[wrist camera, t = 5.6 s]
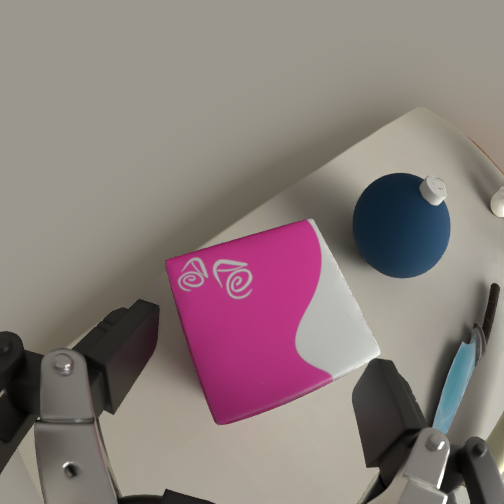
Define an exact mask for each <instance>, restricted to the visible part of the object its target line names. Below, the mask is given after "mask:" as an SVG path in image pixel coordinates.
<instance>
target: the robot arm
mask: <svg viewBox="0 0 504 504" xmlns="http://www.w3.org/2000/svg"><path fill="white" fill-rule="evenodd" d="M159 314H160V307H159V305H156V304H153V303H151V302H148V301H145V300H142V299H138V300H137V301H136V302H135V303H134V304H133V305H132V306H131V307H130V308H129V309H127V308H124V307H122V308H120V309H117V310H114V311H112V312H111V313H109V314H108V315H107V316H106V317H105V318H104V319H103V321H101V322H100V323H99V324H98V325H97V327H94V328H93V329H92V330H91V331H90V332H89V333H88V334H87V335H86V336H85V337H84V338H83V339H82V340H81V341H80V342H79V343H78V344H76V345H75V346H74V347H73V348H72V349H67V348H60V349H55V350H52V351H50V352H49V353H47V354H46V355H45V356H44V355H41V354H37V353H34V352H31V351H27V350H24V347H23V343H22V340H21V339H20V337H19V336H18V335H17V334H15V333H12V332H8V331H4V332H0V392H1V391H2V390H3V391H4V394H3V395H2V396H1V397H0V474H1V472H2V471H3V469H4V467H5V466H6V464H7V463H8V461H9V460H10V458H11V456H12V455H13V453H14V452H15V450H16V449H17V447H18V446H19V444H20V443H21V441H22V440H23V438H24V437H25V435H26V434H27V432H28V431H29V429H30V428H31V427H32V425H33V424H34V422H35V424H34V436H35V448H36V457H37V465H38V472H39V478H40V484H41V489H42V494H43V499H44V503H45V504H215V503H212V502H210V501H207V500H203V499H199V498H195V497H192V496H188V495H184V494H181V493H178V492H174V491H171V490H168V489H165V492H164V495H163V496H158V495H131V496H124V497H122V494H121V492H120V489H119V486H118V484H117V481H116V478H115V476H114V473H113V470H112V467H111V464H110V461H109V458H108V454H107V451H106V447H105V443H104V439H103V435H102V431H101V427H100V423H99V416H100V415H101V413H102V412H103V410H105V411H107V412H109V413H111V414H113V415H114V414H115V412H116V411H117V409H118V407H119V406H120V404H121V403H122V401H123V400H124V398H125V396H126V395H127V393H128V392H129V390H130V389H131V387H132V386H133V384H134V382H135V381H136V379H137V378H138V376H139V375H140V373H141V372H142V370H143V369H144V367H145V366H146V364H147V362H148V361H149V359H150V358H151V356H152V355H153V353H154V351H155V348H156V345H157V339H158V326H159ZM352 403H353V407H354V412H355V416H356V420H357V425H358V429H359V434H360V438H361V443H362V448H363V452H364V457H365V463H366V468H371V467H379V470H380V471H379V472H378V473H377V474H376V475H375V476H374V478H373V479H372V481H371V483H370V484H369V486H368V487H367V489H366V491H365V492H364V494H363V495H362V497H361V498H360V500H359V501H358V502H357V504H457V503H456V499H455V495H454V491H453V490H455V489H456V488H457V487H459V486H460V485H461V484H462V483H464V482H465V485H466V489H467V492H468V495H469V499H470V504H504V482H503V479H502V477H501V474H500V472H499V469H498V467H497V464H496V462H495V459H494V457H493V455H492V452H491V450H490V448H489V446H488V444H487V443H486V442H485V441H484V440H483V439H481V438H479V437H471V438H469V439H468V440H467V441H466V442H465V443H464V444H463V445H462V446H459V445H453V444H450V443H449V440H448V438H447V437H446V435H445V434H444V433H443V432H441V431H440V430H438V429H436V428H431V427H428V425H427V423H426V421H425V418H424V416H423V414H422V412H421V409H420V407H419V405H418V403H417V402H416V399H415V396H414V394H412V390H411V388H410V386H409V384H408V382H407V381H406V380H405V379H404V378H403V377H402V376H401V375H400V374H399V373H398V371H397V369H396V367H395V365H394V363H393V361H391V360H385V359H378V358H374V359H372V360H371V361H370V362H369V364H368V366H367V367H366V369H365V371H364V373H363V374H362V376H361V378H360V379H359V381H358V382H357V384H356V386H355V388H354V390H353V394H352ZM38 417H41V418H40V420H37V418H38Z"/></svg>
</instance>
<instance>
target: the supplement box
mask: <svg viewBox="0 0 504 504" xmlns="http://www.w3.org/2000/svg"><path fill="white" fill-rule="evenodd" d="M165 266H166V271H167V274H168V278H169V282H170V286H171V290H172V293H173V297H174V301H175V304H176V308H177V312H178V315H179V319H180V322H181V326H182V329H183V333H184V336H185V339H186V343H187V346H188V349H189V352H190V355H191V358H192V361H193V364H194V367H195V370H196V373H197V376H198V379H199V382H200V385H201V388H202V390H203V393H204V396H205V398H206V401H207V404H208V406H209V409H210V412H211V414H212V417H213V419H214V422H215V423H216V424H217V425H225V424H230V423H233V422H237V421H240V420H243V419H246V418H249V417H252V416H255V415H258V414H261V413H263V412H266V411H269V410H271V409H274V408H276V407H279V406H281V405H284V404H286V403H289V402H291V401H293V400H295V399H298V398H300V397H302V396H304V395H306V394H309V393H311V392H313V391H315V390H317V389H319V388H321V387H323V386H325V385H327V384H329V383H331V382H333V381H334V380H337V379H339V378H340V377H342V376H344V375H346V374H348V373H350V372H352V371H353V370H355V369H357V368H358V367H360V366H362V365H364V364H366V363H367V362H369V361H370V360H372V359H374V358H375V357H377V356H378V355H379V354H380V349H379V347H378V345H377V343H376V341H375V339H374V337H373V335H372V333H371V330H370V328H369V326H368V324H367V322H366V320H365V318H364V316H363V314H362V312H361V310H360V308H359V306H358V304H357V302H356V300H355V299H354V297H353V295H352V293H351V291H350V289H349V287H348V285H347V283H346V281H345V279H344V277H343V275H342V273H341V271H340V269H339V267H338V265H337V263H336V261H335V259H334V257H333V255H332V253H331V251H330V250H329V248H328V246H327V244H326V242H325V240H324V239H323V237H322V235H321V233H320V231H319V230H318V228H317V226H316V224H315V222H314V221H313V219H311V218H309V219H305V220H302V221H298V222H294V223H291V224H287V225H284V226H280V227H277V228H273V229H270V230H266V231H263V232H259V233H256V234H252V235H249V236H245V237H242V238H238V239H235V240H232V241H229V242H225V243H221V244H218V245H214V246H211V247H208V248H204V249H201V250H197V251H194V252H191V253H188V254H184V255H181V256H177V257H174V258H171V259H168V260H165Z"/></svg>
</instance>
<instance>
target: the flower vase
mask: <svg viewBox="0 0 504 504" xmlns="http://www.w3.org/2000/svg"><path fill="white" fill-rule="evenodd" d="M485 442H486V443H487V444H488V446H489V448H490V450H491V452H492V455H493V457H494V459H495V462H496V464H497V467H498V469H499V472H500V474H502V472H503V470H504V412H503V414H502V416H501V417H500V419H499V421H498V422H497V424H496V426H495V427H494V429H493V431H492V432H491V434H490V435H489V437H488V438H487V440H486V441H485ZM461 485H462V486H464V487H466V485H465V482H464V483H462V484H461Z"/></svg>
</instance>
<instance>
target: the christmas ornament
mask: <svg viewBox="0 0 504 504" xmlns="http://www.w3.org/2000/svg"><path fill="white" fill-rule="evenodd" d="M438 179H439V178H435V177H433V176H427V177H426V178H425V180H424V179H422V178H420V177H418V176H415V175H412V174H407V173H394V174H389V175H385V176H383V177H381V178H379V179H377V180H375V181H374V182H372V183H371V184H370V185H369V186H368V187H367V188H366V189H365V190H364V191H363V193H362V194H361V196H360V198H359V199H358V202H357V204H356V207H355V210H354V215H353V233H354V238H355V242H356V245H357V247H358V249H359V251H360V253H361V255H362V256H363V257H364V259H365V260H366V261H367V262H368V263H369V264H370V265H371V266H372V267H373V268H374V269H376V270H377V271H379V272H381V273H383V274H385V275H387V276H390V277H395V278H411V277H415V276H418V275H421V274H423V273H425V272H426V271H428V270H429V269H431V268H432V267H433V266H434V265H435V264H436V263H437V262H438V261H439V260H440V258H441V257H442V255H443V254H444V252H445V250H446V247H447V245H448V241H449V237H450V217H449V212H448V209H447V206H446V204H445V202H444V199H445V197H446V195H447V192H446V189H445V187H444V185H443V184H442V183H441V182H440V181H439V180H438ZM440 180H441V179H440ZM443 183H444V182H443Z"/></svg>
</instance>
